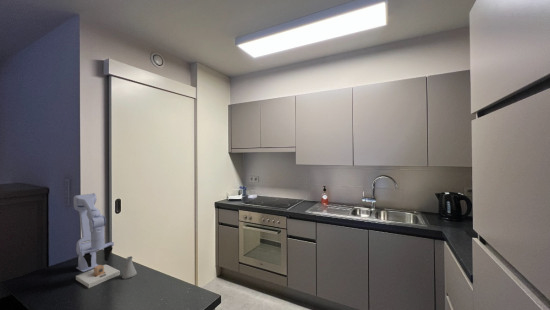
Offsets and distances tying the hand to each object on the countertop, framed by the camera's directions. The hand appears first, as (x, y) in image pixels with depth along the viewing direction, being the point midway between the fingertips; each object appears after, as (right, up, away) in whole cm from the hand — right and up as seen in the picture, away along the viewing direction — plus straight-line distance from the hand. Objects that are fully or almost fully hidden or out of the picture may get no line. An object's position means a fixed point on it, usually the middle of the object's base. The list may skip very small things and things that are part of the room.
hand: (98, 263), depth 119 cm
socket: (0, -7, 0) cm, 7 cm away
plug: (+1, -8, 0) cm, 8 cm away
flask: (+17, -7, +1) cm, 18 cm away
